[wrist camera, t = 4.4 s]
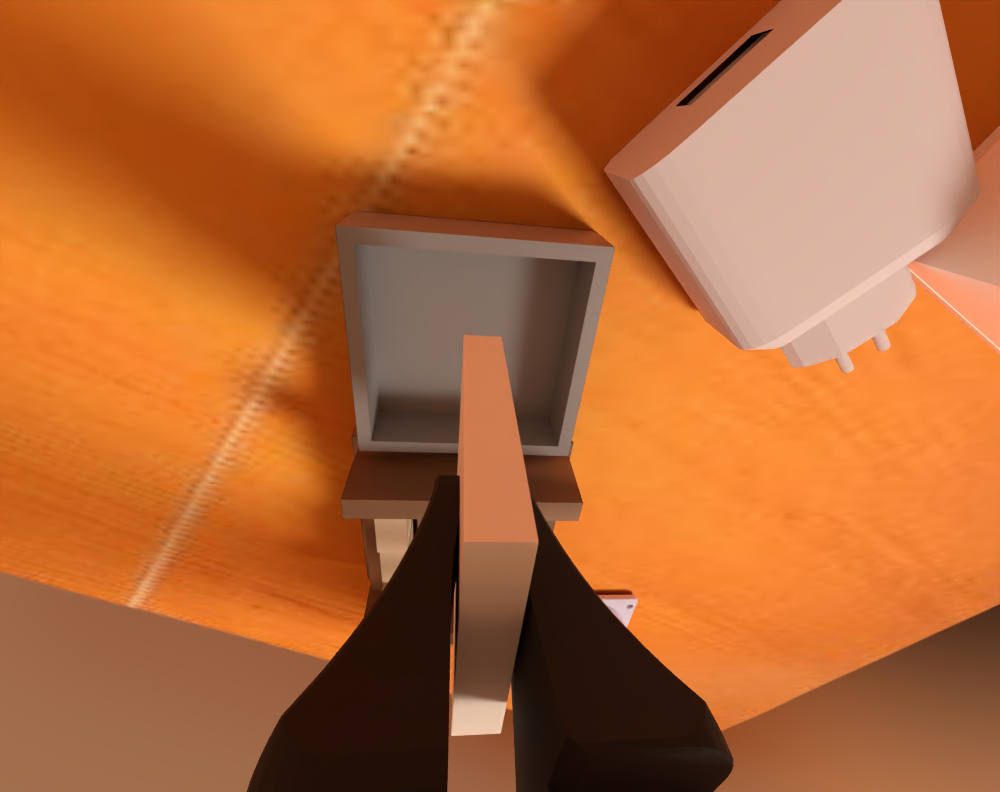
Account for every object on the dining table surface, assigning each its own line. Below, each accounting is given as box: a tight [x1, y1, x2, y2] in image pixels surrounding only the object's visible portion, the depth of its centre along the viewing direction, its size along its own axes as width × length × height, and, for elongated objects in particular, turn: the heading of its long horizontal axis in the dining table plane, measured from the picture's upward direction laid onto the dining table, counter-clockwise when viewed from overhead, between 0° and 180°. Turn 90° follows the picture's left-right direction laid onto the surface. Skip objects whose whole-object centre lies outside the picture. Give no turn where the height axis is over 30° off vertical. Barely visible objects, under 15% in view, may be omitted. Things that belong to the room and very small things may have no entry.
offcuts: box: [374, 519, 416, 591], centre depth 24 cm, size 9×2×4 cm, turn 175°
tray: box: [335, 211, 615, 456], centre depth 20 cm, size 10×10×3 cm
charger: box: [604, 0, 981, 373], centre depth 18 cm, size 5×9×15 cm
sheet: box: [451, 335, 539, 736], centre depth 12 cm, size 7×1×8 cm, turn 175°
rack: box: [341, 428, 583, 644], centre depth 25 cm, size 12×12×5 cm
